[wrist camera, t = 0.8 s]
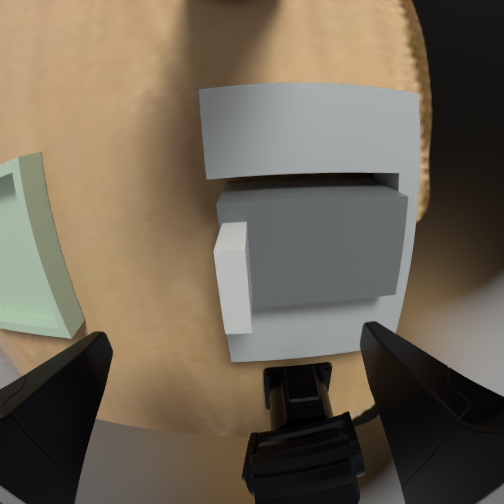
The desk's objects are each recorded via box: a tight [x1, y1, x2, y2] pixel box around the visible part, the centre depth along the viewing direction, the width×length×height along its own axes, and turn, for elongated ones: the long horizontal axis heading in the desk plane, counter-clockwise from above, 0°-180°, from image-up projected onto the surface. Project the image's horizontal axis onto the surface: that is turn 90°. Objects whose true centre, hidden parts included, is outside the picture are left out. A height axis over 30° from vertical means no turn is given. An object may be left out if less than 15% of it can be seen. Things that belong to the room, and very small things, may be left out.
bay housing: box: [198, 83, 420, 362], centre depth 18 cm, size 18×12×4 cm
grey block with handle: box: [213, 178, 408, 334], centre depth 16 cm, size 6×10×10 cm, turn 94°
